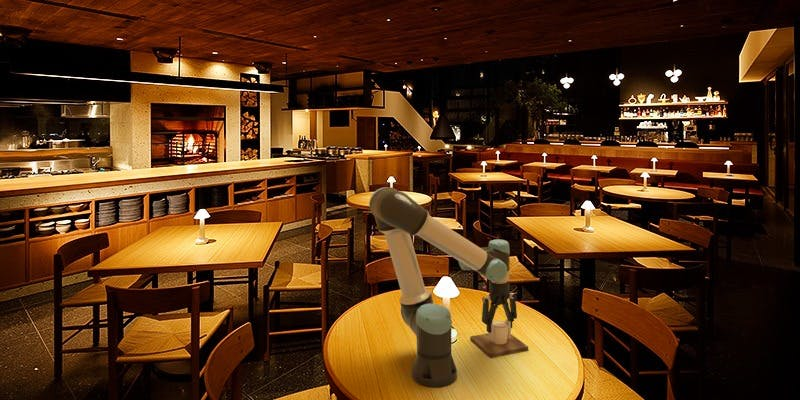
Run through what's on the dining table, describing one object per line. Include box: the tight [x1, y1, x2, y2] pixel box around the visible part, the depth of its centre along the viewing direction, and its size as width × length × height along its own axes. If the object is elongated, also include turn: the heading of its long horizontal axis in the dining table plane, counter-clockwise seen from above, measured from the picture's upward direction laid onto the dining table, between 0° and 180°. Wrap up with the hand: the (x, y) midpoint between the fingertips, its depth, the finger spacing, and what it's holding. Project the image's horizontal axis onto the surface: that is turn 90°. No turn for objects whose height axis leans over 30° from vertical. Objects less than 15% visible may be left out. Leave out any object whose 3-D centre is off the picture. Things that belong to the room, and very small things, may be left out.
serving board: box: [469, 332, 529, 359], centre depth 180 cm, size 16×16×2 cm
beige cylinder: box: [492, 320, 509, 344], centre depth 180 cm, size 7×7×7 cm
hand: (499, 338), depth 180 cm, fingers closed on beige cylinder, 7 cm apart
